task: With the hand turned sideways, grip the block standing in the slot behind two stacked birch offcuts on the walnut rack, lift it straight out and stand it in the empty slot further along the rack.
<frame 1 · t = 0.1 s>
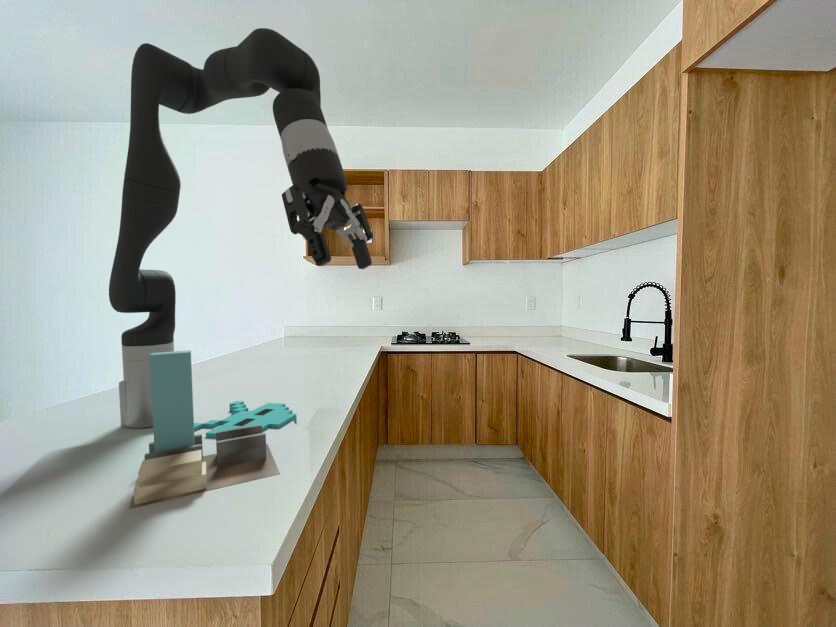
hand: (346, 265, 53), 31 cm above the counter, tool tilted 20°, fingers open, 8 cm apart
offcut lower: (173, 488, 52), point 1 cm above the counter, touching offcut upper, rack
alien figure: (245, 427, 80), on the counter
block: (176, 469, 57), point 1 cm above the counter, touching rack
rack: (175, 483, 55), on the counter
offcut upper: (172, 474, 52), point 3 cm above the counter, touching offcut lower
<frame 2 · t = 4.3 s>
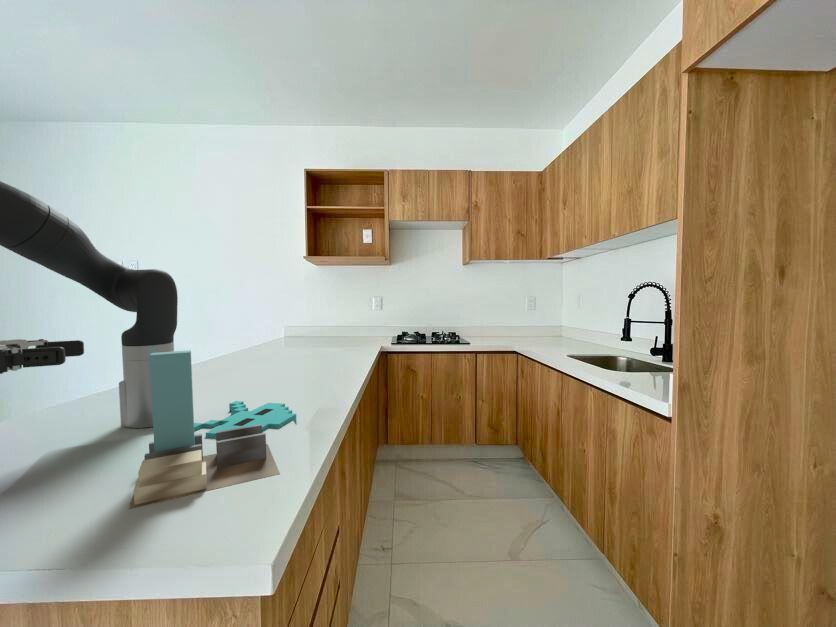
hand: (74, 351, 51), 20 cm above the counter, tool horizontal, fingers open, 8 cm apart
nothing on the counter moved.
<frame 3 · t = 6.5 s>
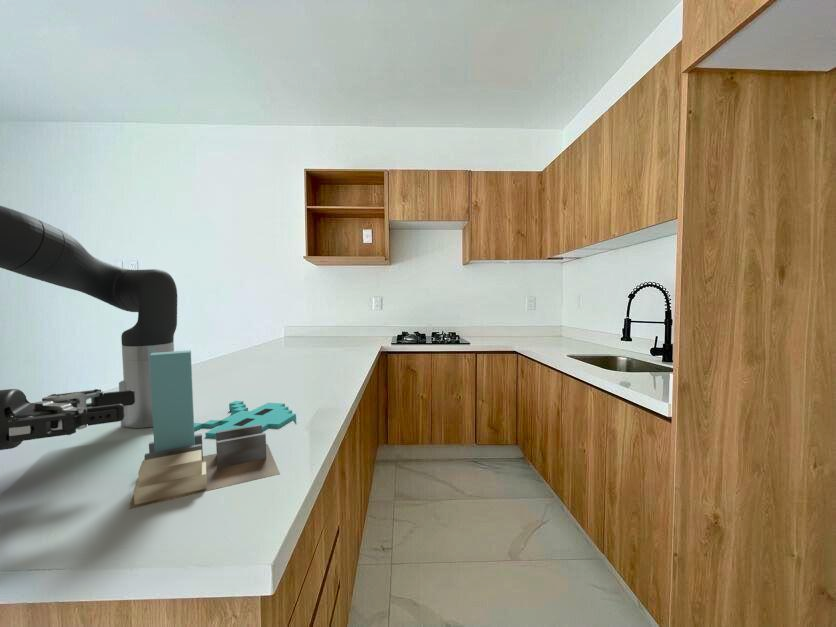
hand: (129, 403, 54), 12 cm above the counter, tool horizontal, fingers open, 8 cm apart
nothing on the counter moved.
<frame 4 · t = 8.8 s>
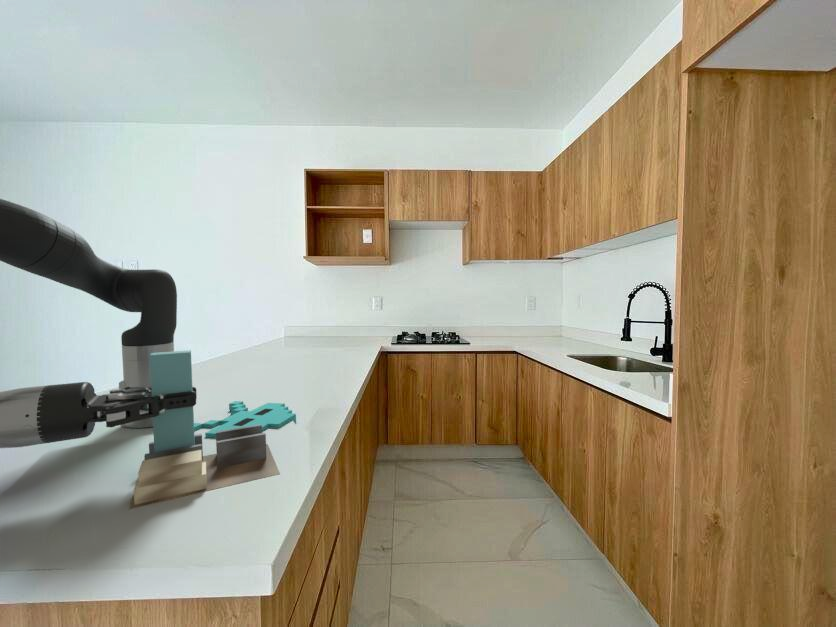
hand: (195, 395, 58), 12 cm above the counter, tool horizontal, fingers closed on block, 2 cm apart
block: (176, 469, 57), point 1 cm above the counter, touching gripper, rack
everything else where it was.
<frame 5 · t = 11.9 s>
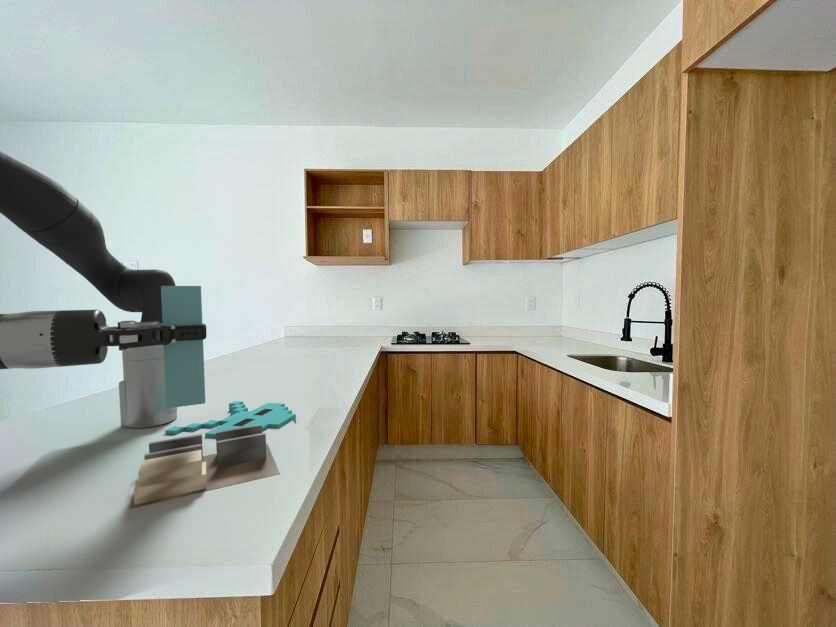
hand: (205, 331, 59), 22 cm above the counter, tool horizontal, fingers closed on block, 2 cm apart
block: (186, 403, 58), point 11 cm above the counter, touching gripper
everything else where it was.
when the fingers open (15 cm above the counter, at t = 15.0 s): block drops 3 cm, resting on rack.
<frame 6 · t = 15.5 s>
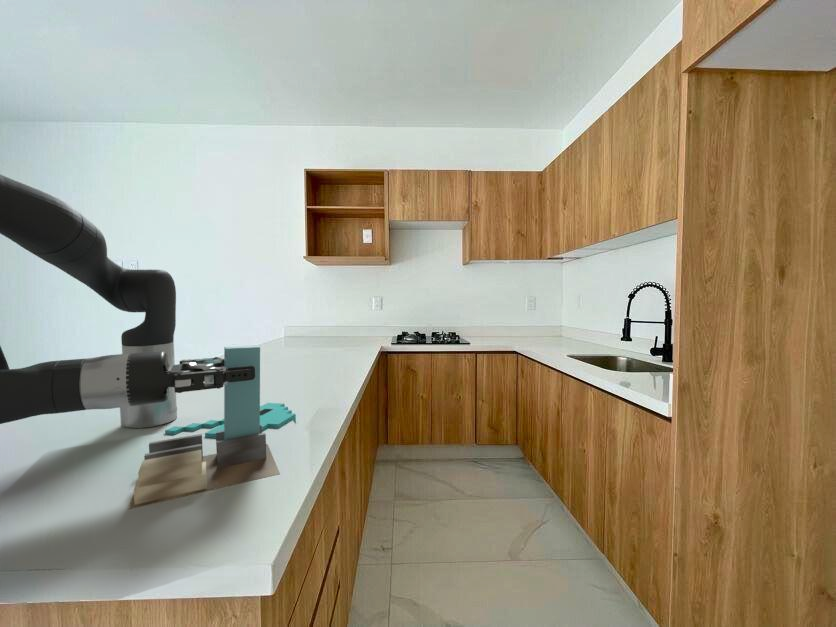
hand: (251, 367, 62), 16 cm above the counter, tool horizontal, fingers open, 7 cm apart
block: (242, 456, 62), point 1 cm above the counter, touching rack
everything else where it was.
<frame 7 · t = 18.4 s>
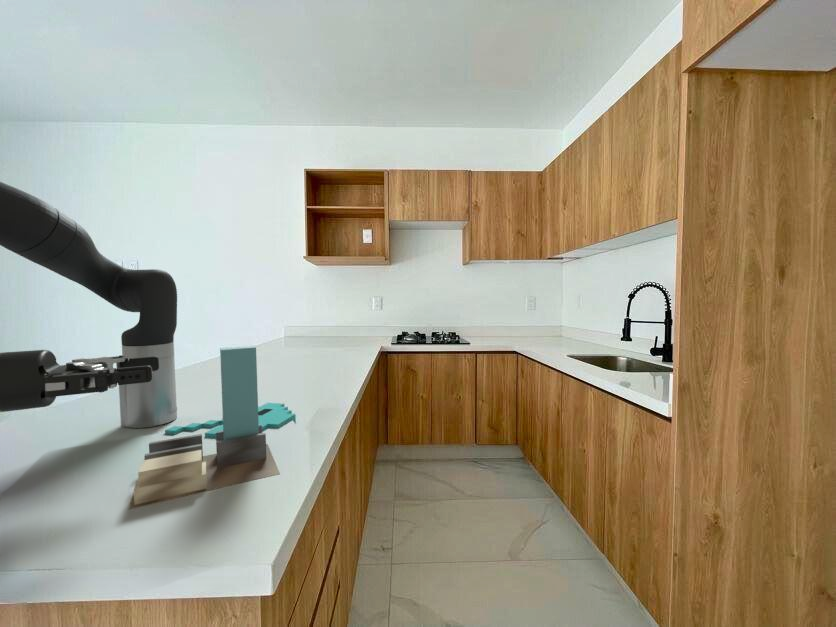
hand: (155, 367, 56), 17 cm above the counter, tool horizontal, fingers open, 8 cm apart
nothing on the counter moved.
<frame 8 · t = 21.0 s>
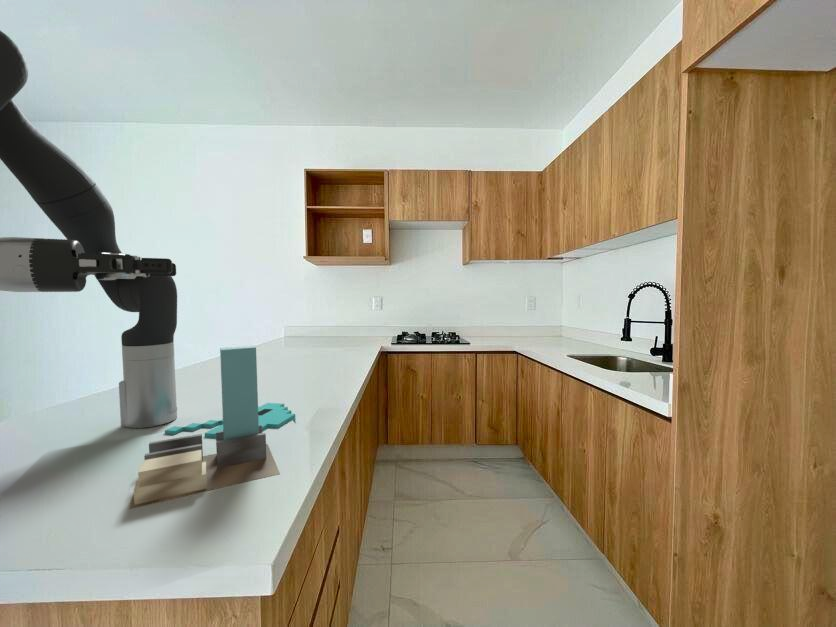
hand: (174, 268, 61), 32 cm above the counter, tool horizontal, fingers open, 8 cm apart
nothing on the counter moved.
at the end: block 0.1 cm from the target spot on the rack, point 1.0 cm above the rack's base; block tilted 0°; offcut upper moved 0.0 cm from its start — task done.
